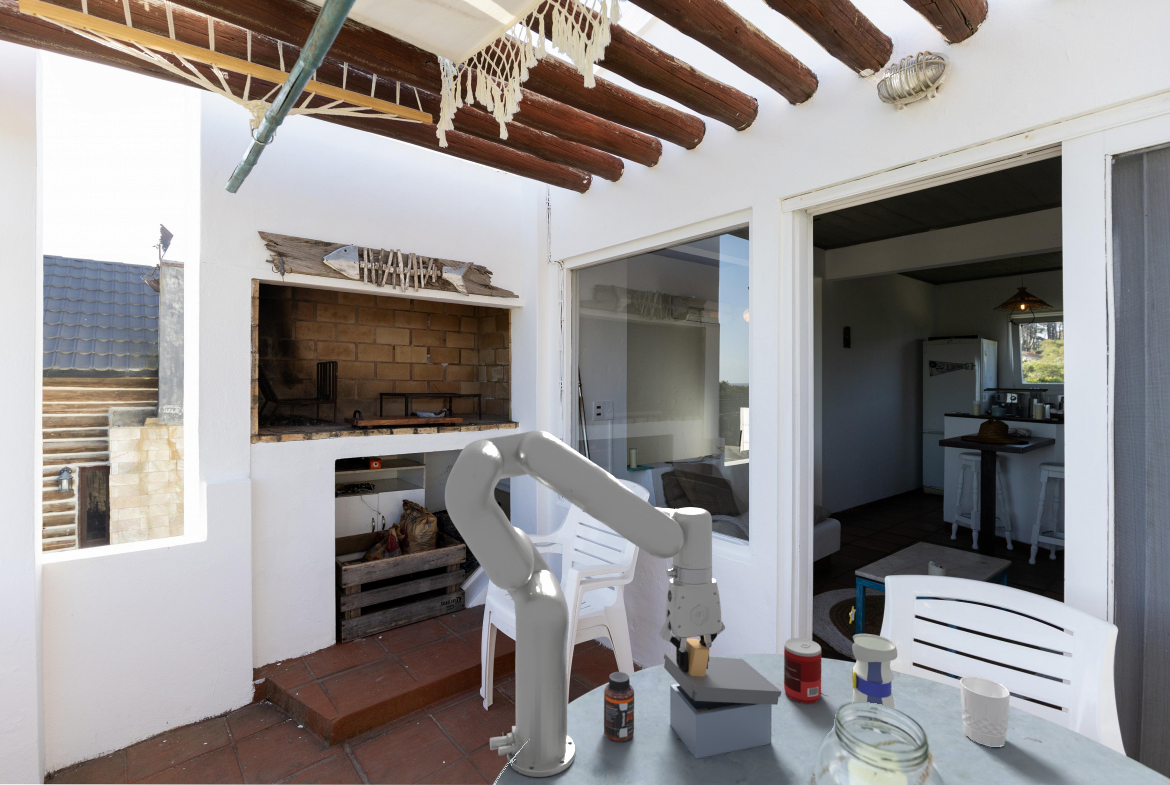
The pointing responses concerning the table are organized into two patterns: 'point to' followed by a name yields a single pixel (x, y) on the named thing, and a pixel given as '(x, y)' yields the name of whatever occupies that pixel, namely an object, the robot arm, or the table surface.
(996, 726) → the white cup
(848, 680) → the table surface
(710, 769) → the table surface
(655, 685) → the table surface
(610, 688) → the supplement bottle
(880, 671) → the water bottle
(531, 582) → the robot arm
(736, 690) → the lid
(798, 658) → the canned food
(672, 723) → the tub
